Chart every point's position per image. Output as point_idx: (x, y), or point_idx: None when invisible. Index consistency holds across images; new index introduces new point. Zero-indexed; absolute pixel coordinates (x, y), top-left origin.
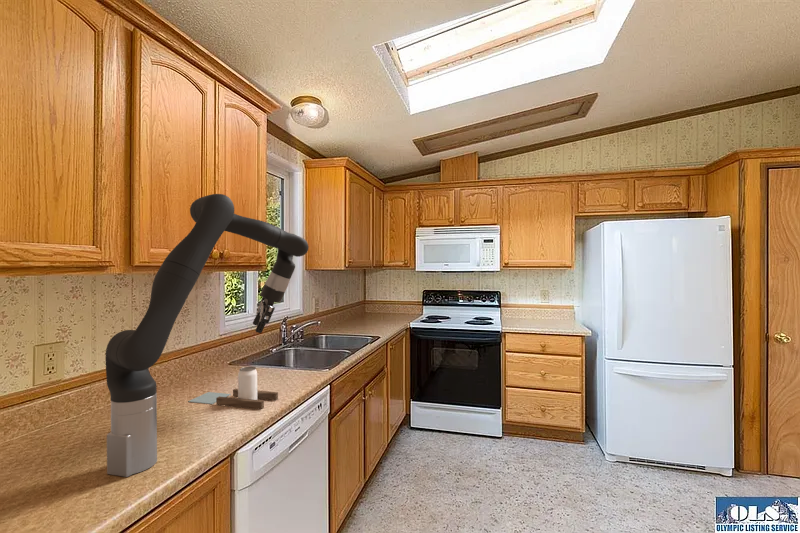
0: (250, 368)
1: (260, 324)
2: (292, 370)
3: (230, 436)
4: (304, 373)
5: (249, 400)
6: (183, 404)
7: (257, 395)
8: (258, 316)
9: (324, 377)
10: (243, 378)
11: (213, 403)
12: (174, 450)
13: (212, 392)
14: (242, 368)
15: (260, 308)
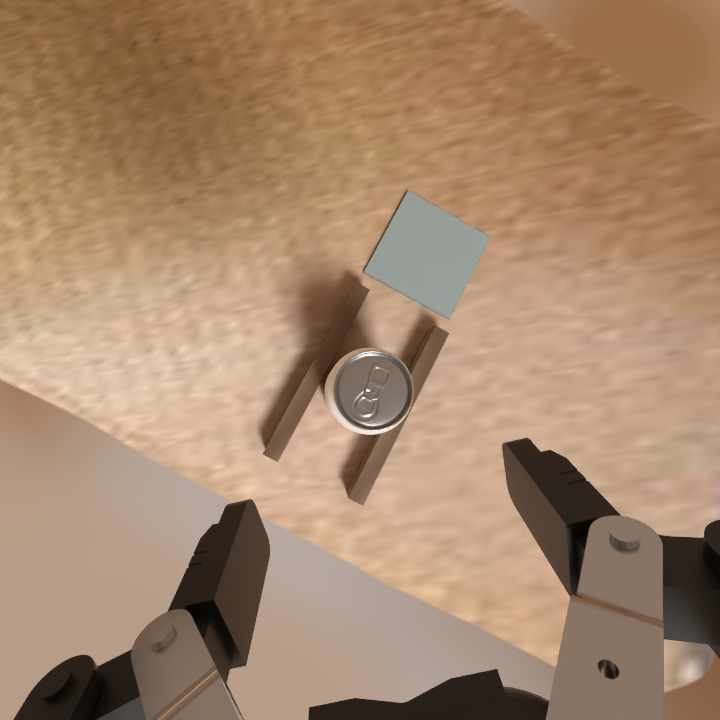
0: (393, 401)
1: (175, 603)
2: None
3: (57, 383)
4: None
5: (295, 406)
6: (387, 182)
7: None
8: (558, 541)
9: None
10: (328, 378)
11: (370, 276)
12: (7, 244)
13: (482, 251)
14: (397, 362)
15: (557, 695)
